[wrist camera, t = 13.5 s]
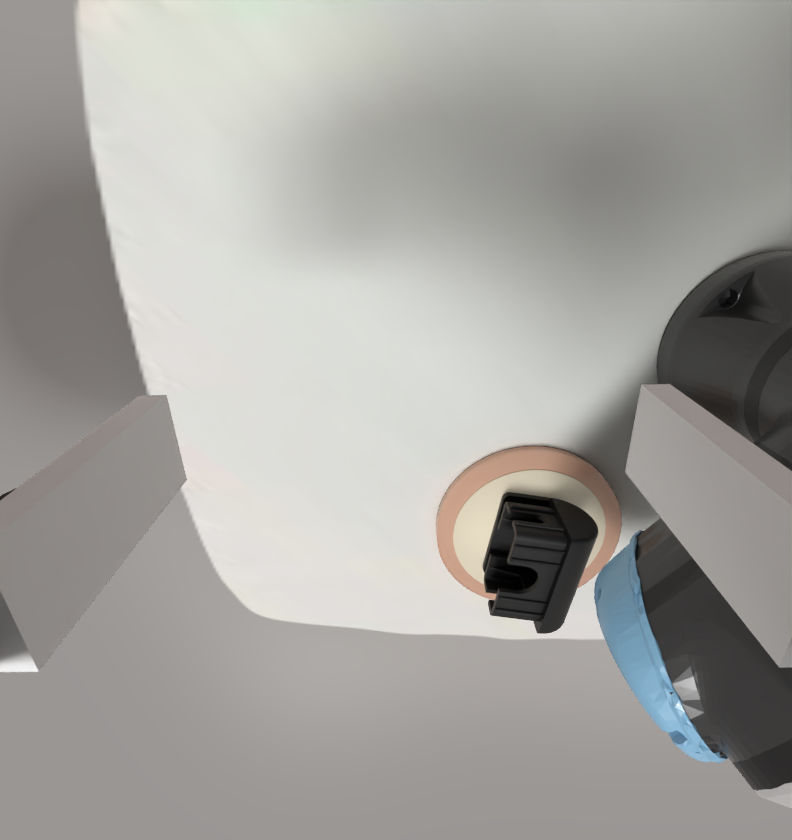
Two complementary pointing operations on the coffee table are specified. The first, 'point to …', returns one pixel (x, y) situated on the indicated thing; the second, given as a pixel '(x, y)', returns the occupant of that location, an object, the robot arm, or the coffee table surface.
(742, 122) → the coffee table surface
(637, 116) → the coffee table surface
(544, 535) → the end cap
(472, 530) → the plate
